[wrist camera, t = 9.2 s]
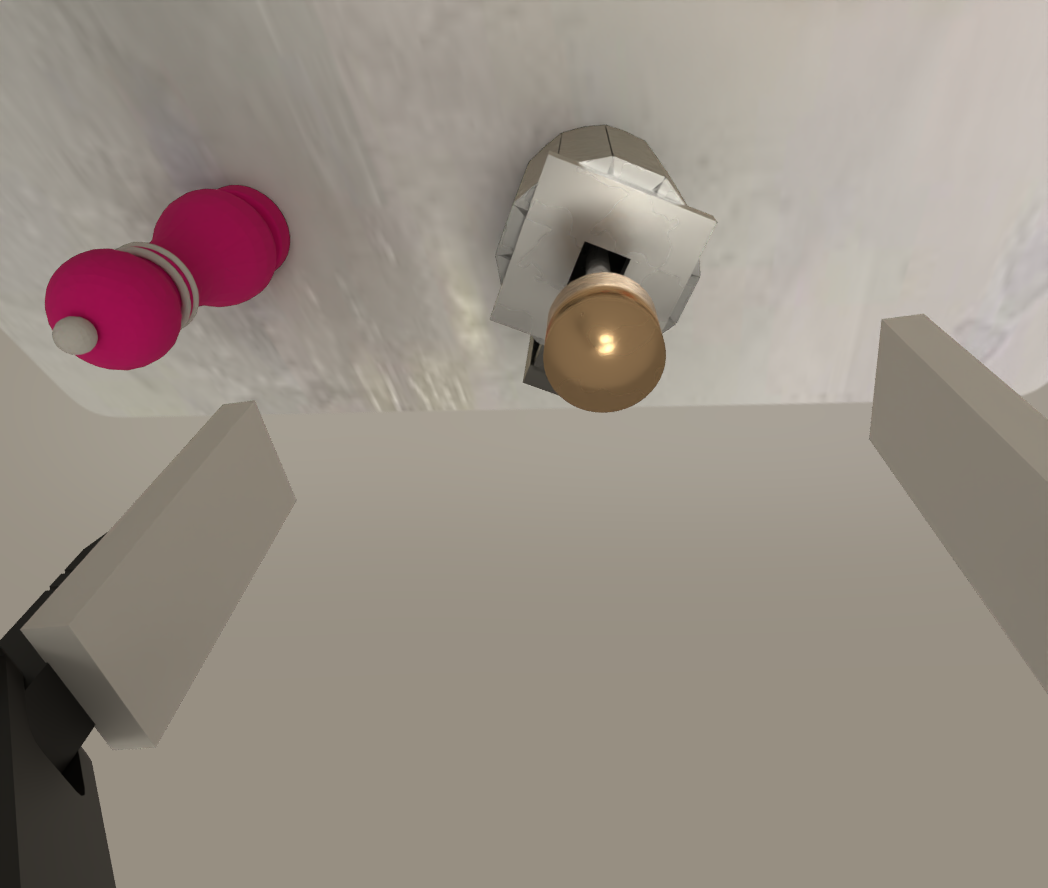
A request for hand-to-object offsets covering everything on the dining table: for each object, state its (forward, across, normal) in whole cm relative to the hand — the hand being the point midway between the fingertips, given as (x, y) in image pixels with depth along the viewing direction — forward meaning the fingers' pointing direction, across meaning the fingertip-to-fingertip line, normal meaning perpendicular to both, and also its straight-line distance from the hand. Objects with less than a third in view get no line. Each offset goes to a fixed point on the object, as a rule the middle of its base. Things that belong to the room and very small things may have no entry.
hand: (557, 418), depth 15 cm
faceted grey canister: (+34, 0, -5) cm, 35 cm away
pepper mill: (+35, -23, -2) cm, 42 cm away
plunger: (+30, +1, -4) cm, 30 cm away
